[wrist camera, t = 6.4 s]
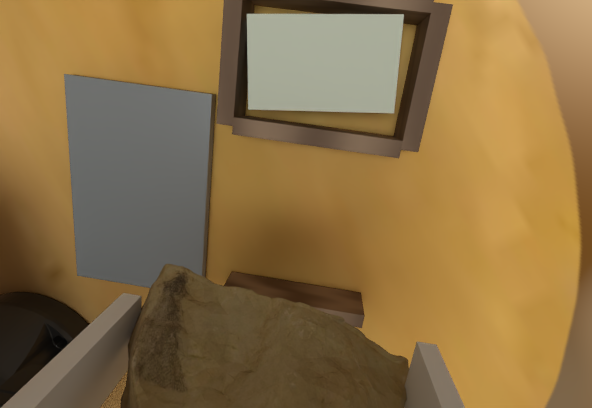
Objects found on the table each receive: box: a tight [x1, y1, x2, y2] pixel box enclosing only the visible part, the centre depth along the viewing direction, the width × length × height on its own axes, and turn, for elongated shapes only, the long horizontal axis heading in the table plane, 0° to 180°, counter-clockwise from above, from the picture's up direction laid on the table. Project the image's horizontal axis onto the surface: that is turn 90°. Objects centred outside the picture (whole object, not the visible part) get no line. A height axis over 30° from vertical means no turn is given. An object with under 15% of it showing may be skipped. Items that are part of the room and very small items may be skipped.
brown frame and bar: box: [217, 0, 453, 328], centre depth 27 cm, size 14×25×4 cm, turn 173°
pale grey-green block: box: [247, 14, 404, 113], centre depth 25 cm, size 10×6×4 cm, turn 89°
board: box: [64, 74, 216, 288], centre depth 30 cm, size 12×18×1 cm, turn 173°
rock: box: [121, 264, 409, 408], centre depth 12 cm, size 11×9×10 cm
